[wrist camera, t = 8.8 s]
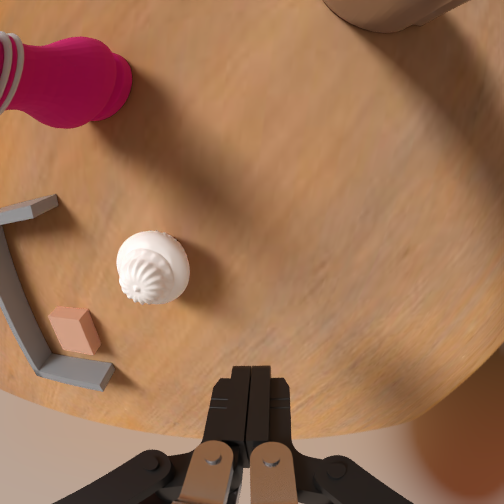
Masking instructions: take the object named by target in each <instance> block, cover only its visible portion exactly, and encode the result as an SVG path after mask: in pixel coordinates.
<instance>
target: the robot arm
mask: <svg viewBox="0 0 504 504" xmlns="http://www.w3.org/2000/svg"><path fill="white" fill-rule="evenodd" d="M323 1H324V2H325V3H326V5H327V6H328V7H329V8H330V9H331V10H332V11H333V12H335V13H336V14H337V15H338V16H339V17H341V18H343V19H344V20H346V21H347V22H349V23H351V24H353V25H355V26H357V27H360V28H362V29H365V30H369V31H372V32H380V33H394V32H397V31H401V30H403V29H405V28H406V27H408V26H410V25H418V26H422V25H424V24H426V23H428V22H429V21H431V20H433V19H435V18H437V17H439V16H440V15H442V14H444V13H446V12H448V11H450V10H452V9H454V8H456V7H458V6H460V5H462V4H464V3H466V2H468V1H470V0H323ZM243 468H250V486H251V487H250V488H251V504H298V502H300V503H304V504H413V503H412V502H410V501H409V500H407V499H406V498H404V497H403V496H401V495H399V494H398V493H397V492H395V491H393V490H392V489H391V488H389V487H388V486H386V485H385V484H384V483H382V482H381V481H379V480H378V479H376V478H375V477H374V476H372V475H371V474H370V473H368V472H367V471H365V470H364V469H363V468H361V467H360V466H359V465H357V464H356V463H355V462H353V461H352V460H351V459H349V458H347V457H345V456H340V455H334V456H330V457H327V458H325V459H323V460H322V459H317V458H312V457H308V456H305V455H302V454H301V453H299V452H298V451H297V450H296V449H295V448H294V446H293V444H292V440H291V414H290V390H289V386H288V384H287V382H286V381H285V379H284V378H271V366H252V367H251V366H233V368H232V374H231V379H229V378H220V379H219V381H218V382H217V383H216V385H215V386H214V387H213V392H212V397H211V401H210V408H209V411H208V416H207V421H206V426H205V431H204V436H203V440H202V442H201V444H200V445H199V446H198V447H197V448H196V449H194V450H193V451H191V452H189V453H185V454H180V455H173V456H167V455H166V454H164V453H163V452H161V451H158V450H146V451H144V452H142V453H140V454H139V455H137V456H135V457H134V458H132V459H131V460H129V461H127V462H126V463H124V464H123V465H121V466H119V467H118V468H116V469H115V470H113V471H112V472H109V473H108V474H106V475H104V476H103V477H101V478H99V479H98V480H96V481H94V482H92V483H91V484H89V485H87V486H85V487H83V488H81V489H80V490H78V491H76V492H74V493H72V494H70V495H68V496H67V497H65V498H63V499H61V500H59V501H57V502H55V503H53V504H238V501H239V496H240V491H241V486H242V474H243Z"/></svg>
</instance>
